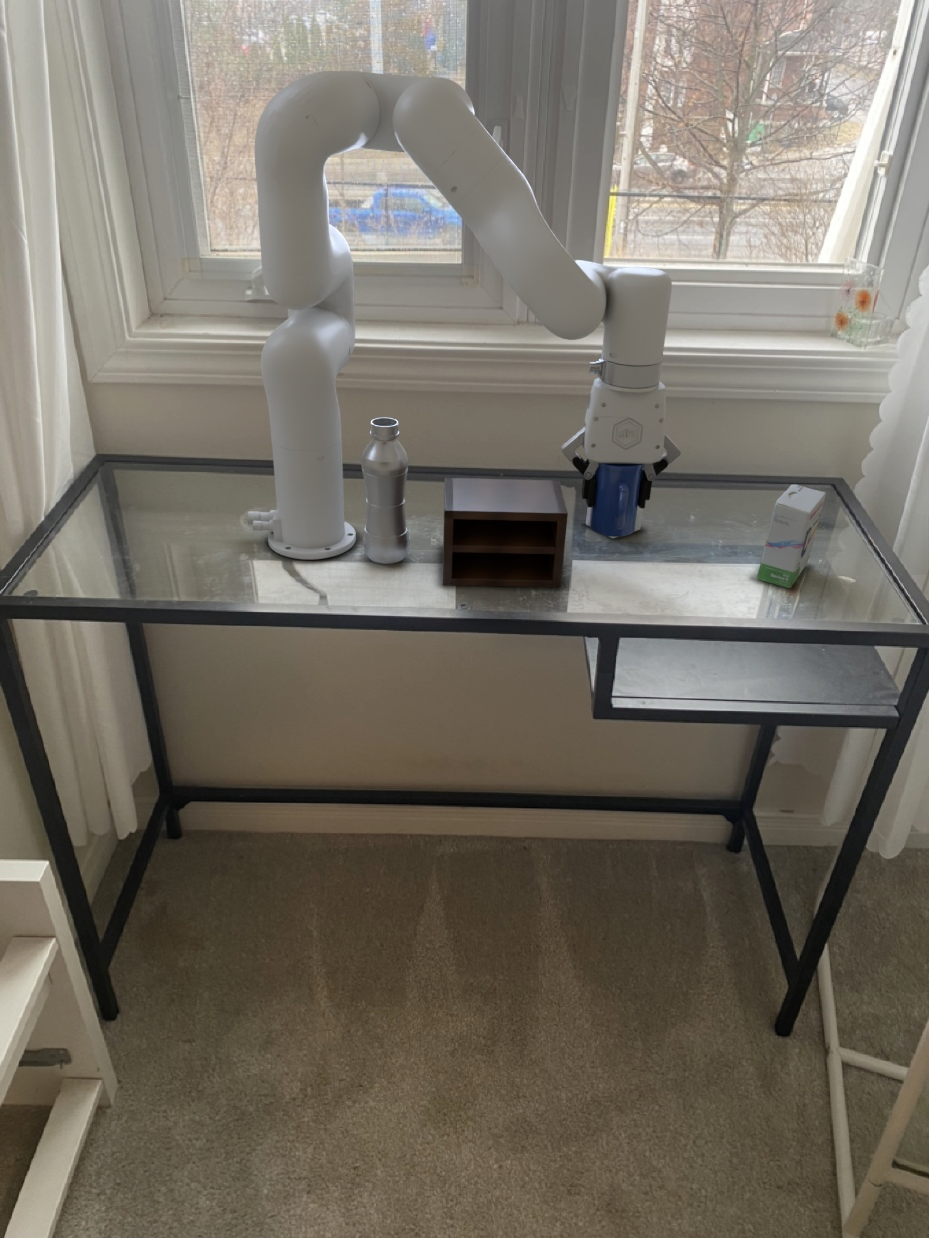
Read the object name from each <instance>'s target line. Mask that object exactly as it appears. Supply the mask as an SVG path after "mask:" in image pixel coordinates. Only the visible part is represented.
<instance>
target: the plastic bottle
mask: <svg viewBox="0 0 929 1238" xmlns="http://www.w3.org/2000/svg"><path fill="white" fill-rule="evenodd" d="M369 436H370V438H371V440H370V441H369V443H368V444H367V445H366V446H365V448H364V449H363V451H362V455H361V458H360V466H361V471H362V477H363V482H364V491H365V492H364V493H365V498H366V499H365V504H366V510H365V525H364V531H363V535H362V537H363V539H362V544H363V551H364V553H365V555H366V556H367V557H368V559H369V560H371V561H372V562H375V563H378V564H383V565H384V564H386V565H389V564H395V563H399V562H401V561H402V560H404V559H405V557H406V556H407V555H408V553H409V547H410V536H409V531H408V528H407V518H406V517H407V516H406V508H405V504H406V485H407V477H408V470H409V462H410V461H409V457H408V453H407V451H406V450H405V448H404V447H403V444H401V443H400V441H399V440H398V438H399V436H400V431H399V421H398V420H397V419H395V418H391V417H376V418H374V419H371V421H370V431H369Z"/></svg>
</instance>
